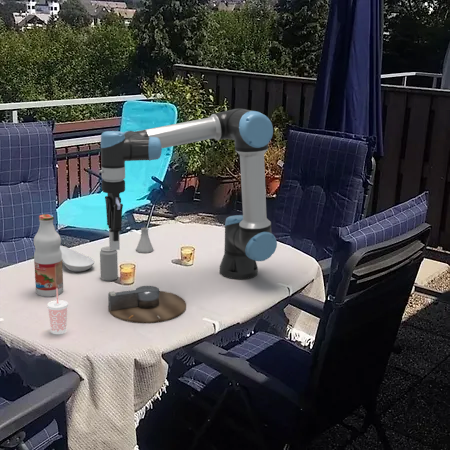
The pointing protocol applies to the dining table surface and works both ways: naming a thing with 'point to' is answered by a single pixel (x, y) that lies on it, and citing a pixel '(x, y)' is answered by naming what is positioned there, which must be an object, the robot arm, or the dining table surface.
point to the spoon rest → (75, 260)
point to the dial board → (153, 310)
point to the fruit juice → (48, 258)
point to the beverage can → (108, 264)
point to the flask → (144, 242)
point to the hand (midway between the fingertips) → (114, 248)
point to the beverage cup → (58, 315)
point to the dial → (134, 298)
